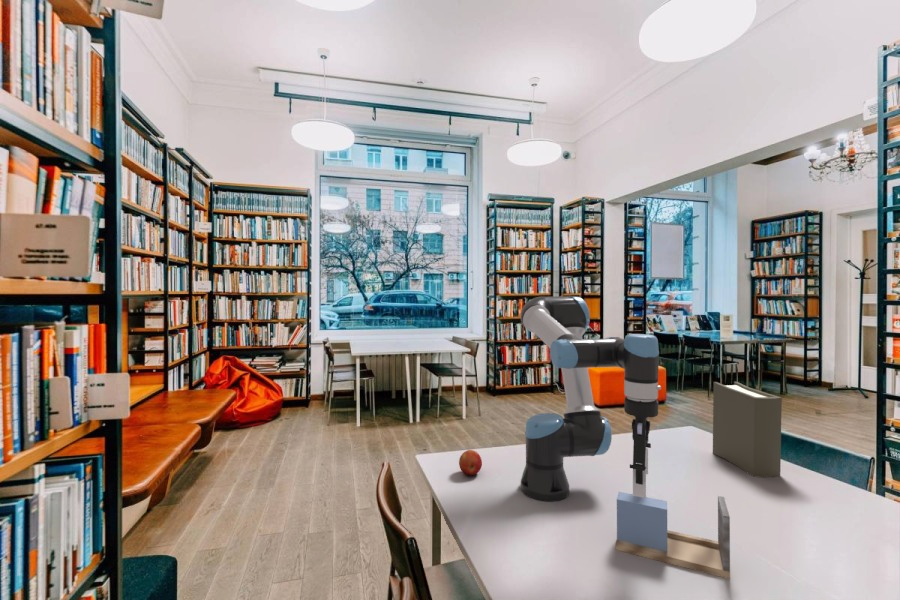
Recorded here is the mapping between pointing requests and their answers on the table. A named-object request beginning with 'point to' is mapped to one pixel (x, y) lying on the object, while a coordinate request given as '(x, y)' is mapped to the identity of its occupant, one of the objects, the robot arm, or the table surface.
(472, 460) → the apple
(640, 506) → the slim book
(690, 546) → the shelf
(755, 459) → the book
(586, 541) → the table surface
